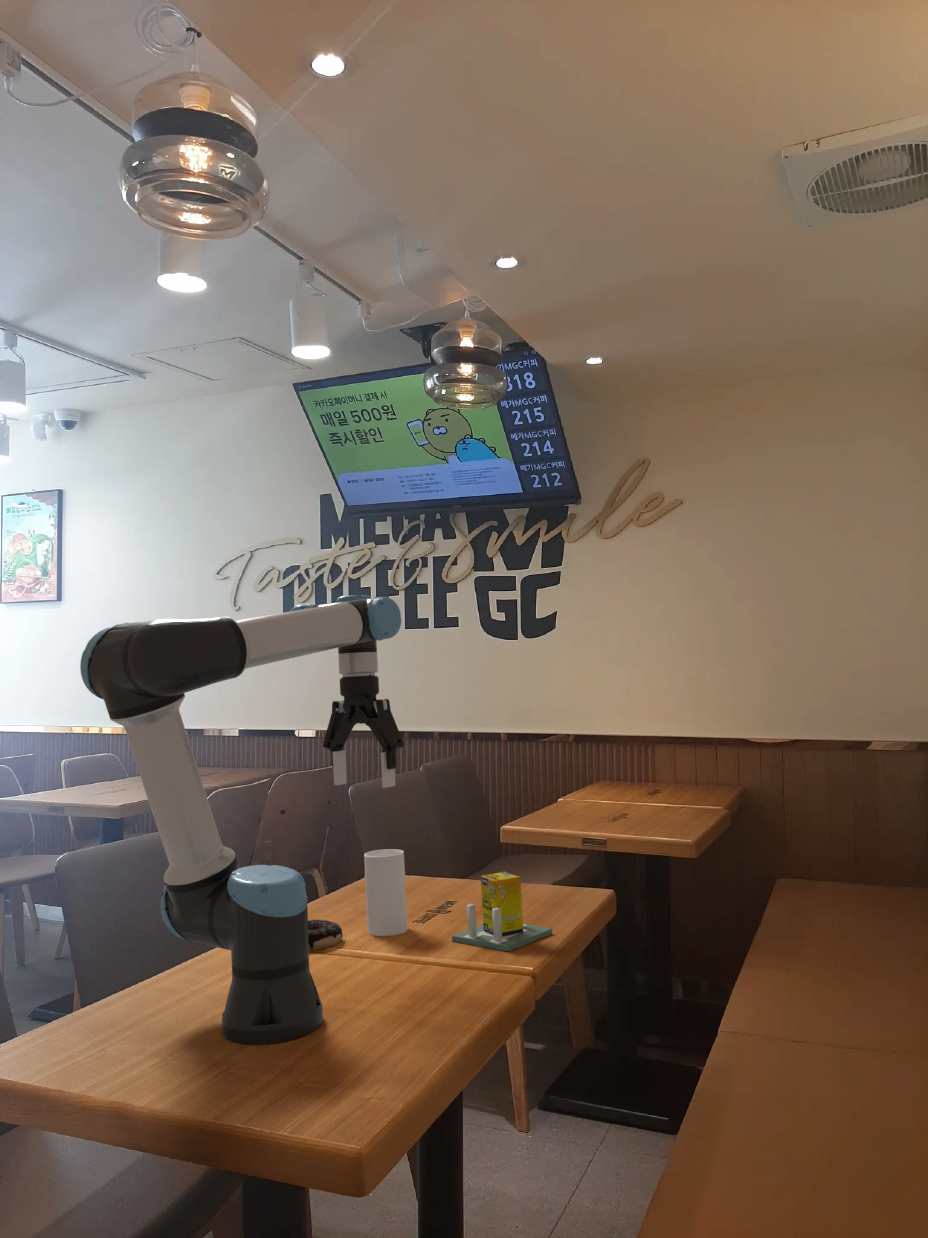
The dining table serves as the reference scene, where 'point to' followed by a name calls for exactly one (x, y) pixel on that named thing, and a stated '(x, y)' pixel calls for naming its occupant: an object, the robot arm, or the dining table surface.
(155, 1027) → the dining table surface
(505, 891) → the supplement box
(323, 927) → the donut
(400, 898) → the cup
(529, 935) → the header board
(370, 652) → the robot arm
